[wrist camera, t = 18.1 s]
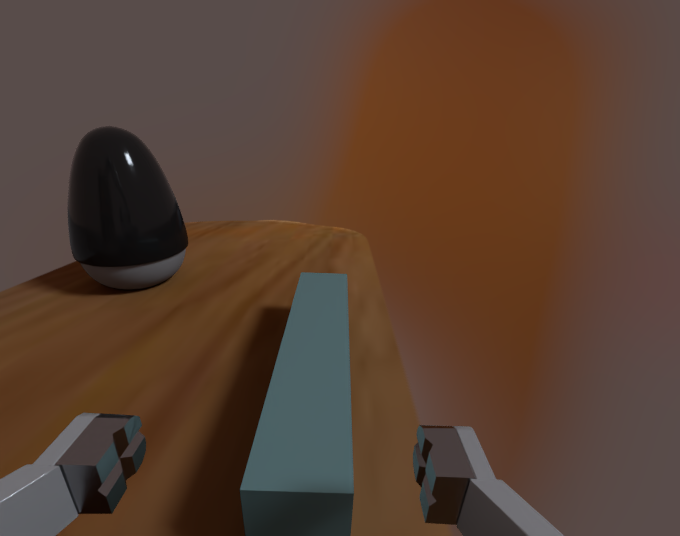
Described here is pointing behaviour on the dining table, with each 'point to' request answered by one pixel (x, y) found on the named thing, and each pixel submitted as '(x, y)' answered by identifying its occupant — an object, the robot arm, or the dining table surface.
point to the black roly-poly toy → (123, 212)
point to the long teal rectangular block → (305, 423)
